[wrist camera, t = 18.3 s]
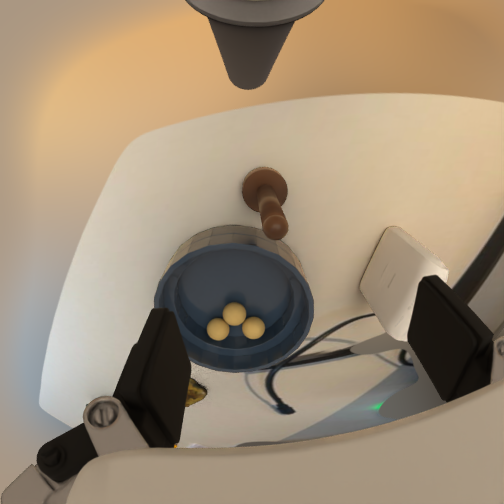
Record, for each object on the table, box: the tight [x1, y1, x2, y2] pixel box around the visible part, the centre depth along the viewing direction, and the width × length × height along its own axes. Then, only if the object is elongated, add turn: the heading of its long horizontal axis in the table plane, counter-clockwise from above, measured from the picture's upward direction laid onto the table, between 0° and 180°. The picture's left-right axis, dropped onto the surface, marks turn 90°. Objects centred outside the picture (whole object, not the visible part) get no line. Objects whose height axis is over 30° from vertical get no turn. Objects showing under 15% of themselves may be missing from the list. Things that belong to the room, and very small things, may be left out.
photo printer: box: [359, 226, 449, 342], centre depth 31 cm, size 10×4×12 cm, turn 162°
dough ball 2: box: [223, 302, 246, 326], centre depth 37 cm, size 3×3×3 cm
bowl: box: [154, 225, 314, 373], centre depth 35 cm, size 18×18×6 cm
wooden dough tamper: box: [242, 167, 288, 240], centre depth 26 cm, size 5×5×14 cm
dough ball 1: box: [207, 318, 229, 340], centre depth 38 cm, size 3×3×3 cm
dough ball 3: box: [242, 317, 265, 339], centre depth 38 cm, size 3×3×3 cm
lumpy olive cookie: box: [185, 378, 207, 407], centre depth 44 cm, size 9×5×15 cm
